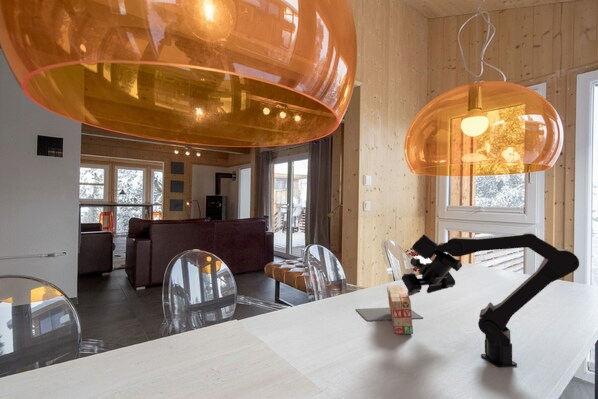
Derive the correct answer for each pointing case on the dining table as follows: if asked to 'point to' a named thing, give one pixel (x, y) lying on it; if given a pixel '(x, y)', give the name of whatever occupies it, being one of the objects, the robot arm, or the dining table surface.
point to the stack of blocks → (400, 309)
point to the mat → (381, 314)
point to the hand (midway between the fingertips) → (418, 293)
